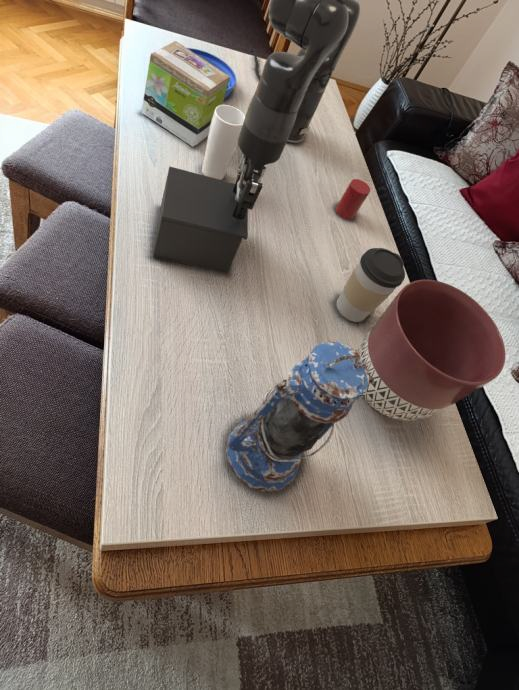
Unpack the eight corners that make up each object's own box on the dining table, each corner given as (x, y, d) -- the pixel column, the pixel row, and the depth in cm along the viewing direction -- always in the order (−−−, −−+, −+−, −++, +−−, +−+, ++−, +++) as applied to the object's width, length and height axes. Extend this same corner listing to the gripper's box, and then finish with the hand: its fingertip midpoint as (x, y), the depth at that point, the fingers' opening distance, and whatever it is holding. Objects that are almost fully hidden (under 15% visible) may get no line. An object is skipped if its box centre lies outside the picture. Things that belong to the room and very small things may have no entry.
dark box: (229, 225, 106) (242, 189, 98) (227, 273, 98) (242, 238, 91) (160, 208, 102) (168, 169, 94) (152, 257, 94) (161, 219, 87)
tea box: (139, 114, 116) (148, 51, 105) (164, 99, 122) (175, 38, 111) (193, 149, 116) (209, 89, 104) (215, 132, 122) (232, 74, 110)
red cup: (334, 202, 122) (349, 176, 116) (353, 207, 124) (368, 182, 117) (336, 216, 119) (352, 190, 113) (355, 221, 121) (371, 196, 114)
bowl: (169, 95, 124) (171, 81, 121) (162, 54, 133) (164, 41, 130) (238, 108, 131) (242, 96, 128) (227, 69, 140) (230, 56, 137)
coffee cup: (345, 330, 100) (384, 283, 89) (323, 295, 104) (358, 245, 92) (378, 321, 105) (419, 275, 93) (356, 287, 108) (393, 239, 96)
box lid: (246, 190, 98) (254, 169, 94) (246, 239, 91) (255, 219, 87) (168, 169, 94) (173, 147, 90) (161, 219, 87) (166, 197, 83)
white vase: (192, 173, 111) (209, 113, 99) (205, 159, 115) (222, 99, 103) (219, 188, 111) (239, 130, 99) (231, 173, 115) (251, 115, 104)
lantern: (296, 413, 86) (386, 311, 62) (317, 483, 80) (425, 400, 56) (210, 422, 80) (274, 312, 56) (226, 498, 74) (304, 412, 50)
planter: (440, 438, 93) (525, 384, 76) (349, 441, 86) (420, 382, 69) (408, 349, 103) (477, 284, 86) (324, 345, 96) (380, 274, 79)
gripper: (291, 159, 77) (257, 236, 90) (288, 106, 85) (256, 184, 98) (244, 146, 75) (216, 227, 88) (245, 93, 83) (219, 174, 96)
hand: (238, 204), depth 93 cm, fingers closed on box lid, 6 cm apart
